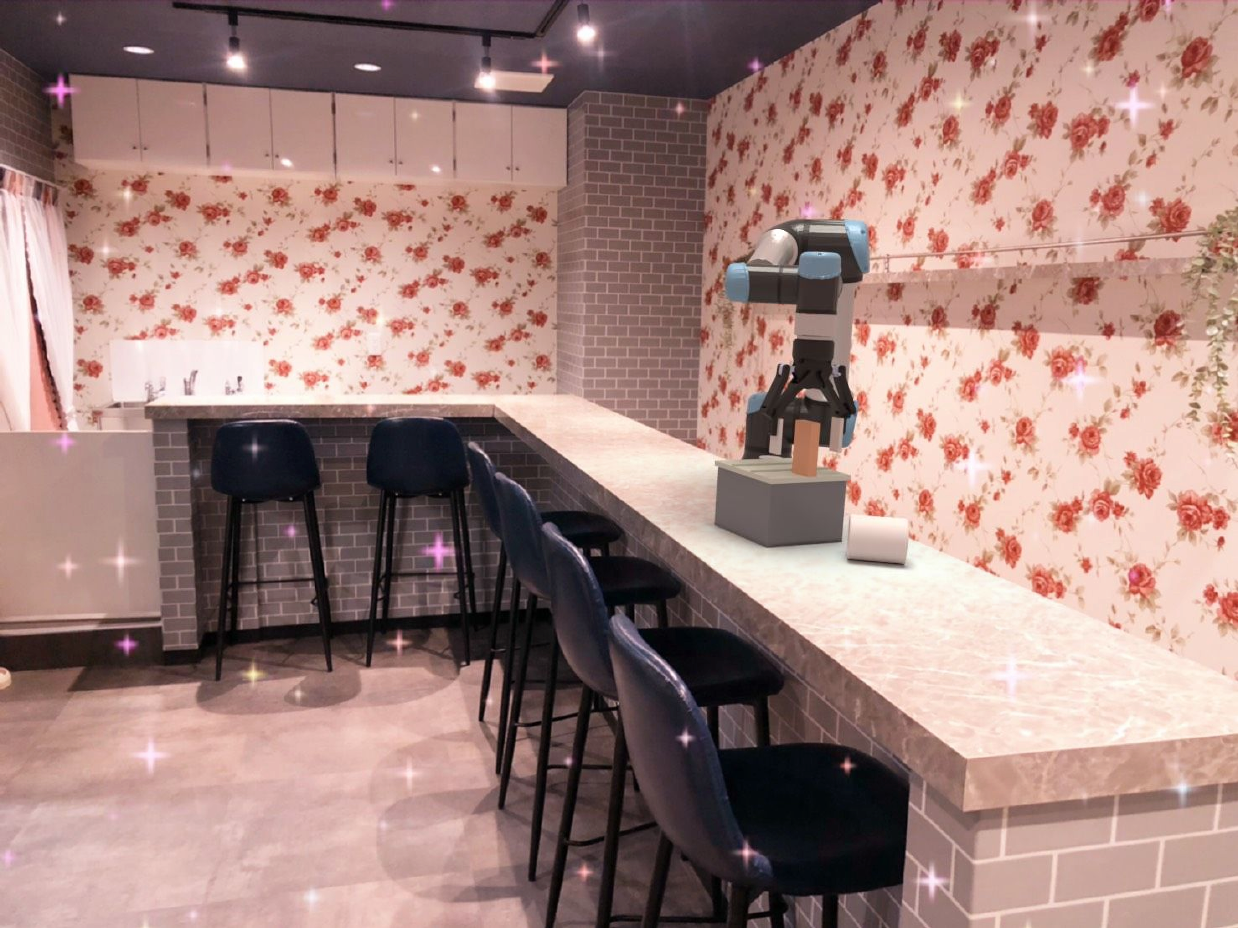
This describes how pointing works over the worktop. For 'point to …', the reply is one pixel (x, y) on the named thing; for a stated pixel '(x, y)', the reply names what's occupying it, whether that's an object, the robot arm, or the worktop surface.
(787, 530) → the tub
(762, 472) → the lid
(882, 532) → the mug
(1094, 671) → the worktop surface
